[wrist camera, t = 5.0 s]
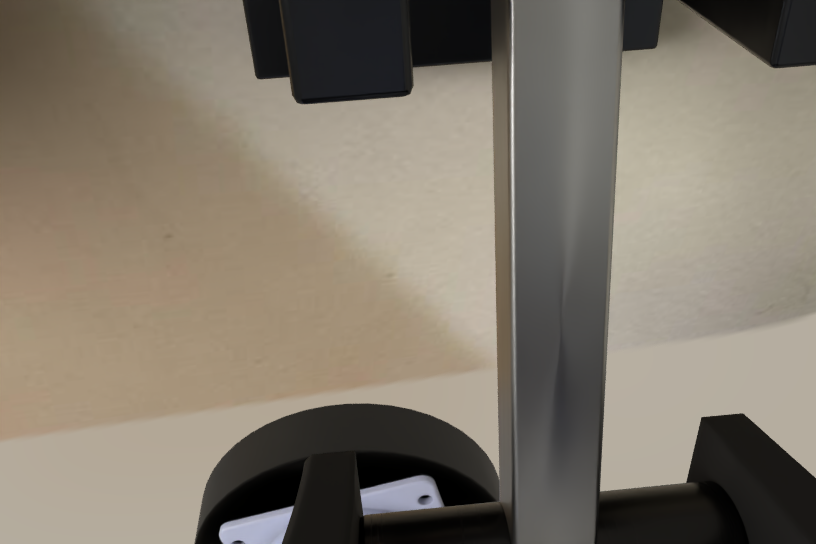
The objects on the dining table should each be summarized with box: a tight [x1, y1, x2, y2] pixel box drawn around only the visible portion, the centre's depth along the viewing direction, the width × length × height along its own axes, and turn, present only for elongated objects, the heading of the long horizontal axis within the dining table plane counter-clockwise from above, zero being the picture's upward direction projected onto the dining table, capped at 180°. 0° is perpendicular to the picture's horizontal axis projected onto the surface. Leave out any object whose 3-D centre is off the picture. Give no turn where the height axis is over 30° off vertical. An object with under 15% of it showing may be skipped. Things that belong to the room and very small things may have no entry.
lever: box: [359, 0, 749, 544], centre depth 8 cm, size 11×5×2 cm, turn 3°
